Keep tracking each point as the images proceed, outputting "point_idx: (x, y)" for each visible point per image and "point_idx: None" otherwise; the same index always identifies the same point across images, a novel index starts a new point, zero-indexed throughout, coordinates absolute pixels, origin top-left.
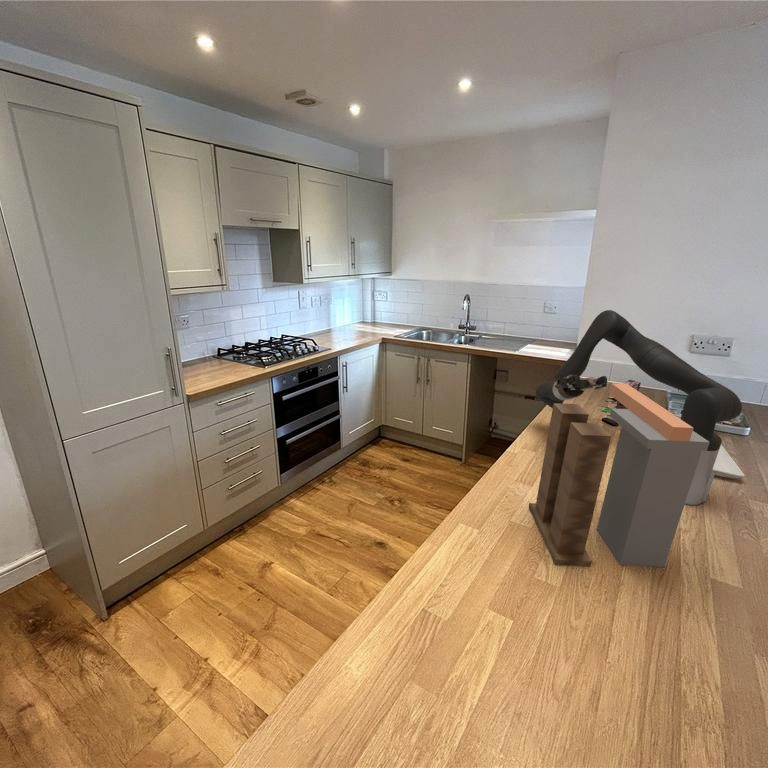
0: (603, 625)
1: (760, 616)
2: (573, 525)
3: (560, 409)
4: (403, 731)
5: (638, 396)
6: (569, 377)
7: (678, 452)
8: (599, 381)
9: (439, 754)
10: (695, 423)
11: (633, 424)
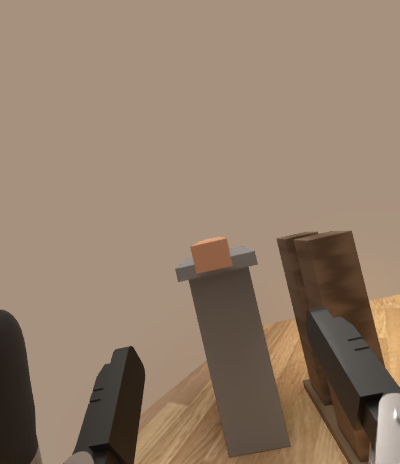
0: (298, 350)
1: (180, 382)
2: None
3: (335, 231)
4: (390, 300)
5: (209, 240)
6: (370, 349)
7: None
8: (127, 428)
9: (370, 301)
10: (24, 388)
11: (243, 248)
